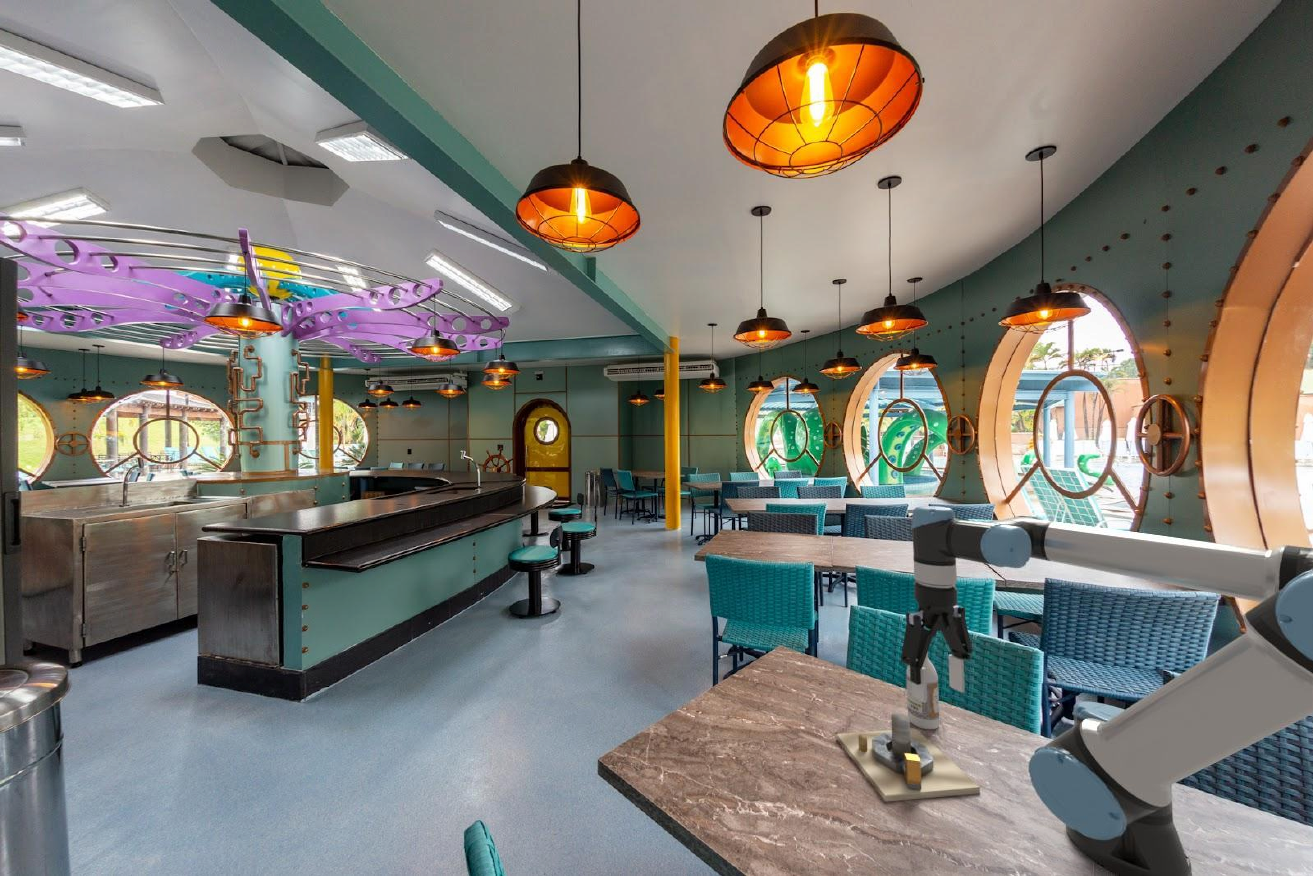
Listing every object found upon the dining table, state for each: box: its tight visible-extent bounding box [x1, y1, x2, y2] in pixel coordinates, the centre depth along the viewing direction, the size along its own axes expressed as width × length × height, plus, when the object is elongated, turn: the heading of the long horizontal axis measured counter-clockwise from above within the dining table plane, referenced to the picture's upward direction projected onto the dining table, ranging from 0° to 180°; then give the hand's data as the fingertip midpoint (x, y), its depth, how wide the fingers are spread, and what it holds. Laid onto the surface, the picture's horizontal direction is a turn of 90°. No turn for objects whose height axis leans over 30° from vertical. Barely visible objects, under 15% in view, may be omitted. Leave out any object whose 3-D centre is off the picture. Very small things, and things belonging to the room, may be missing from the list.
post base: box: [836, 712, 981, 803], centre depth 102 cm, size 20×20×10 cm
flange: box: [872, 733, 934, 790], centre depth 100 cm, size 16×11×6 cm
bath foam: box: [906, 651, 940, 730], centre depth 118 cm, size 7×7×20 cm
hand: (938, 694), depth 94 cm, fingers open, 10 cm apart
